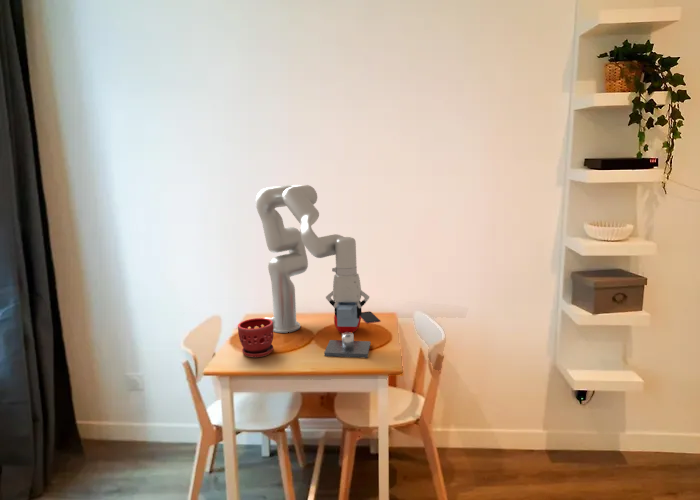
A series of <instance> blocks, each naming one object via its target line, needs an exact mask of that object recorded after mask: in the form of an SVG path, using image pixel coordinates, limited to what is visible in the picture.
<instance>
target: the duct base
mask: <svg viewBox="0 0 700 500" xmlns="http://www.w3.org/2000/svg"><path fill="white" fill-rule="evenodd" d="M354 338H355V337H354V332H352V333H351V332H345V333H341V339H329V341H328V343H327V345H326V348H325V349H324V352H323V353H324V355H323V356H324V357H328V358H329V357H333V358H335V357H336V358H359V359H368V358H369V353H370V350H369V349H370V348H371V346H370V345H371V344H372V343H371V341H368V340H367V341H366V340H355V339H354Z"/></svg>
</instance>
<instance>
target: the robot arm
mask: <svg viewBox="0 0 700 500" xmlns="http://www.w3.org/2000/svg"><path fill="white" fill-rule="evenodd" d="M317 201H318V193H317V190H315V188H314V187H313V186H311V185H309V184H304V185H303V184H287V185H280V186H269V187H266V188H262V189H260V191H258V193H257V195H256V198H255V207H256V210H257V213H258V215H259V217H260V220H261V223H262V224H261V225H262V229H263V233H264V238H265V242H266V246H267V248H268V250H269V251H270V252H271V253H274V254H275V253H276V254H277V253H284V252H287V251H288V253H286V254H281V255H280V254H279V255H278V256H275V257H273V258H271V259H270V260H269V262H268V265H267V266H268V267H267V268H268V273H269V277H270V283H271V293H272V294H271V295H272V308H273V309H272V311H273V312H272V313H273V316H272V317H265V318H266V319H270V320H272V321H273V327H274V329H273V333H279V334H287V333H288V332H289V333H293V332H296V331H298V330H300V328H301V323H300V322H299V321H297V308H296V307H297V305H296V304H297V303H296V288H295V284H294V283H293V281H292V280H291V277H293V276H297V275H301V274H304V273H305V272H306V271H307V269H308V267H309V261H308V255H307V251H308V252H309V253H310V254H311V255H312V257H315V258H316V259H323V258H327V257H330V256H335V267H332V268H331V269H332V271H331V272H334V273H335V274H334V275H333V283H332V291H330V292H329V293H328V294H327V295H326V296H325V299H326V301H327V302H328V303H329V304H330V305H331V306H333V309H334V315H336V318H337V304H338V303H339V302H343V303H356V304H357V306H358V308H357V318H358V319H359V318H360V316H361V315H362V307H363V306H365V304H366V303H367V302H368V300H369V299H370V295H368V294H367V293H366V292H365V291H363V290H362V285H361V279H360V276H359V275H360V274H359V273H357V271H358V270H357V267H358V266H357V243H356V239H355V238H354V237H352V236H343V235H341V234H338V233H337V234H335V233H333V234H328V235H325V236H319V237H318V236H317V234H316V232H315V231H314V230H313V227H312V226H313V225H314V224H315V223H316V222H317V221H318V220H319V217H320V212H319V210H318V209H317V208H316V206H315V204H316V203H317ZM281 207H287V209H288V210H289V211H290V213H291V214H292V216H294V218H295V219H296V221H297V222H298V223H299V225H300V226H299V227H300V228H299V229H298V228H297V227H295V226H293V227H292V226H290V227H289V226H288V227H285V225H284V224H285V223H284V220H283V217H282V216H281V214H280V213H279V211H278V210H277V209H276V208H281ZM306 250H307V251H306ZM362 297H363V298H364V299H363V300H362V301H361V299H362ZM332 298H333V299H332Z"/></svg>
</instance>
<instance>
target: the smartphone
mask: <svg viewBox="0 0 700 500" xmlns="http://www.w3.org/2000/svg"><path fill="white" fill-rule="evenodd" d="M360 317H361V320H362V321H363V322H364V323H366V324H375V323H380V322H381V319H379V318H378V316H376V315H375V314H374V313H373V312H372V311H369V310H368V311H363V312H362V315H361V316H360Z"/></svg>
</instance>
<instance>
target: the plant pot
mask: <svg viewBox="0 0 700 500" xmlns="http://www.w3.org/2000/svg"><path fill="white" fill-rule="evenodd" d="M266 318H267V317H257V318H249V319H245V320H243V321H241V322H239V323H238V325H237V331H238V338H239V342H240V344H241V346H242V351H241V352H242V354H243V356H247V357H248V358H249V357H250V358H262V357H265V356H268V355H269V354H271V353H272V352H273V350H274V345H273V344H272V343H273V340H274V331H273V329H274V327H273V321H272V320H270V319H266ZM262 325H263V326H262ZM255 327H257V328H255Z"/></svg>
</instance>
